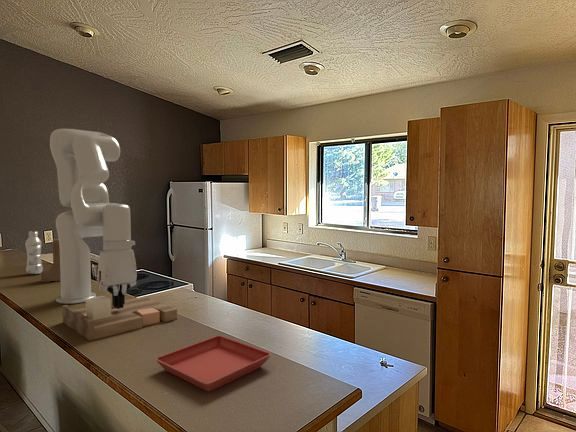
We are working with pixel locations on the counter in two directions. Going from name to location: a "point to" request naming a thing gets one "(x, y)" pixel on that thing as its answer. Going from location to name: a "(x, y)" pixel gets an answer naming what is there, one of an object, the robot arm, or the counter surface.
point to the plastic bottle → (33, 254)
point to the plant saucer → (213, 362)
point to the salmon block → (149, 316)
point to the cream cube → (98, 307)
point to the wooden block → (54, 271)
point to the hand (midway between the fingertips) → (118, 307)
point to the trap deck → (115, 318)
